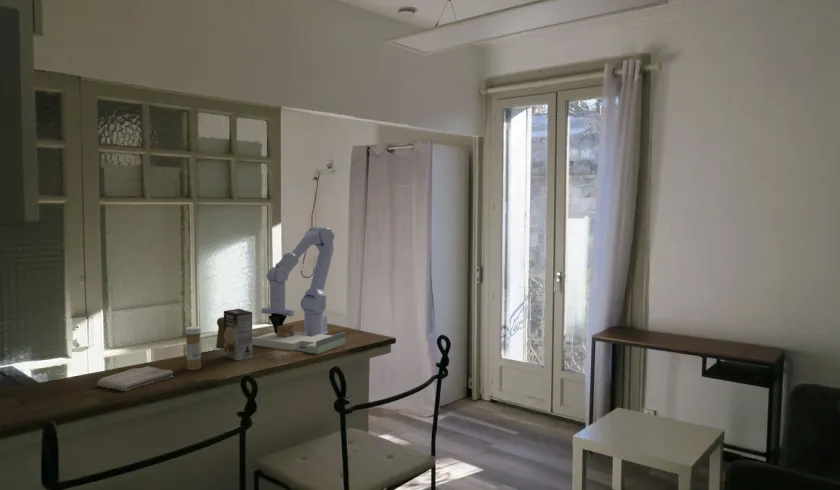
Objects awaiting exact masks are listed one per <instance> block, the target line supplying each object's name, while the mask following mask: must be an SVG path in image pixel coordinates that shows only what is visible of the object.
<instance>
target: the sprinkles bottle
mask: <svg viewBox="0 0 840 490" xmlns="http://www.w3.org/2000/svg"><path fill="white" fill-rule="evenodd" d="M201 334H202V328H201V327H200V326H198V325H197V326H194V325H193V326H187V327H186V328H185V337H186V339H185V340H186V344H185V347H186V349H185V350H186V353H185V354H186V370H188V371H196V370H200V369H201V368H202V346H201V345H202V344H201Z"/></svg>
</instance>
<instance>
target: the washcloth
mask: <svg viewBox="0 0 840 490" xmlns="http://www.w3.org/2000/svg"><path fill="white" fill-rule="evenodd" d="M173 374H174V372H173V370H171V369H160V368H158V367H155V366H144V367H138V368H131V369H128V370H126V371H123V372H122V371H121V372H118V373H115V374H112V375H108V376H103V377H102V378H100V379H99V380H98V381H97V383H96V385H97V386H99V387H100V386H101V387H100V388H103V387H108V388H107V389H110V388H113V389H112V390H114V389H117V390H121V391H120V392H122V391H127V390H130V389H133V388H136V387H139V386H142V385H146V384H149V383H152V384H154V383H153V382H156V381H159V380H162V381H164V380H163V379H165V380H168V379H167V378H169V379H171V378H170V377H172V378H174V375H173ZM159 382H160V381H159ZM156 383H157V382H156ZM149 385H150V384H149ZM146 386H147V385H146ZM139 388H140V387H139ZM136 389H137V388H136ZM117 390H116V391H117ZM133 390H134V389H133ZM130 391H131V390H130ZM127 392H128V391H127Z"/></svg>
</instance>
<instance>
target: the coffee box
mask: <svg viewBox="0 0 840 490" xmlns="http://www.w3.org/2000/svg"><path fill="white" fill-rule="evenodd" d="M223 317H224V349H223V354H224V357H227V358H229V359H231V360H235V361H242V360H247V359H251V358H253V345H252V338H253V312H252V311H249V310H245V309H242V308H233V309H228V310H223Z"/></svg>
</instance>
